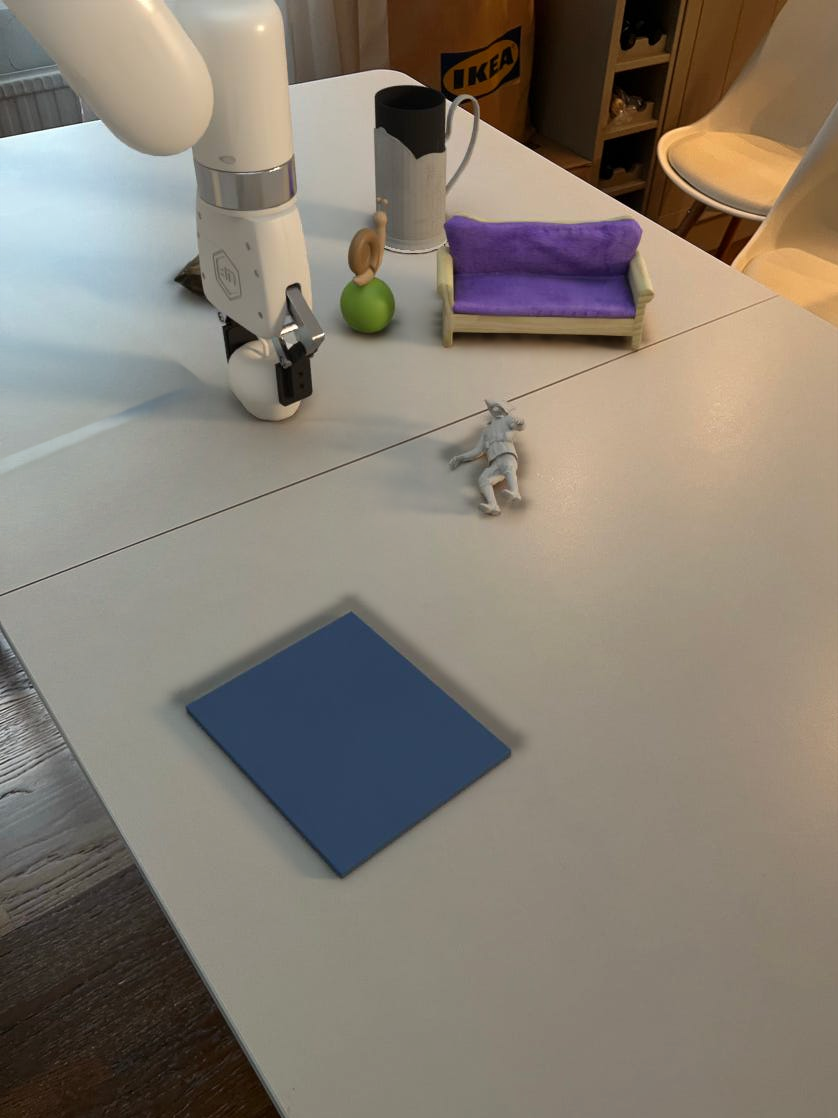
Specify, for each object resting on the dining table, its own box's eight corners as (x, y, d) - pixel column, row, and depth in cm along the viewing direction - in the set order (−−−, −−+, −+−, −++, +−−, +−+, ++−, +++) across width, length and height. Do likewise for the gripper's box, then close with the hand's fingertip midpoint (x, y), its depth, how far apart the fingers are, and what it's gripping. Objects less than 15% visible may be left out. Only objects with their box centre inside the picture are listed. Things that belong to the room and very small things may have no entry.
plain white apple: (241, 386, 97) (230, 307, 91) (317, 391, 97) (311, 312, 91) (225, 429, 92) (213, 349, 86) (305, 434, 92) (298, 354, 86)
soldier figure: (450, 524, 86) (436, 407, 91) (488, 543, 89) (472, 429, 94) (522, 483, 81) (503, 362, 86) (559, 504, 85) (539, 387, 90)
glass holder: (357, 232, 119) (351, 93, 109) (450, 201, 126) (453, 67, 116) (405, 261, 115) (404, 119, 104) (498, 227, 122) (506, 90, 111)
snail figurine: (409, 319, 106) (408, 203, 98) (379, 348, 102) (375, 229, 94) (363, 306, 108) (358, 191, 99) (331, 334, 104) (323, 216, 95)
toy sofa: (435, 348, 103) (437, 249, 95) (436, 305, 109) (437, 208, 101) (644, 354, 104) (662, 256, 96) (633, 310, 110) (649, 215, 102)
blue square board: (341, 879, 61) (341, 873, 61) (186, 711, 70) (185, 706, 69) (511, 755, 68) (511, 749, 68) (351, 616, 77) (351, 610, 76)
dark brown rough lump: (169, 291, 103) (271, 306, 106) (173, 221, 102) (277, 237, 104) (177, 295, 111) (272, 309, 113) (180, 230, 109) (277, 245, 111)
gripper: (143, 152, 82) (180, 353, 94) (271, 232, 73) (292, 441, 86) (224, 131, 85) (249, 327, 98) (355, 204, 77) (364, 408, 90)
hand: (269, 379), depth 92 cm, fingers closed on plain white apple, 7 cm apart
